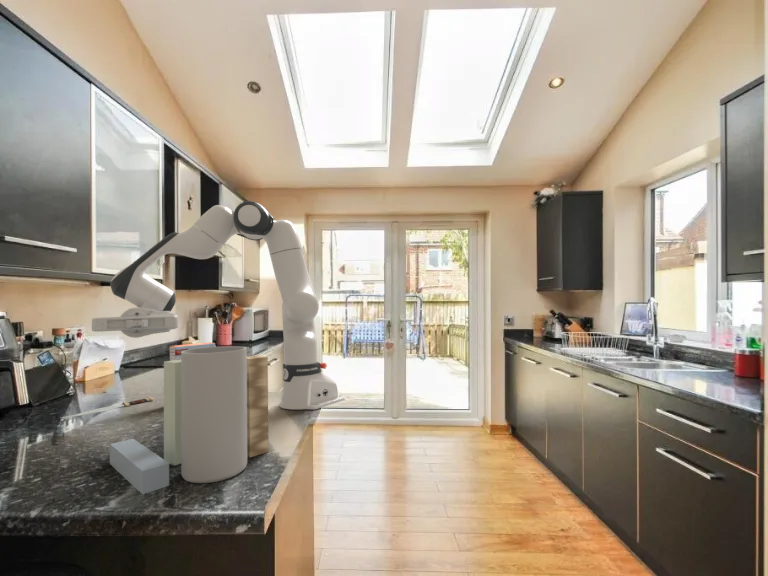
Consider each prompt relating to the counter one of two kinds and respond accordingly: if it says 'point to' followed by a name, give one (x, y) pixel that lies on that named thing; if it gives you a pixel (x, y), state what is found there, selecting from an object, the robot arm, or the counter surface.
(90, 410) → the knife
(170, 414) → the post sage
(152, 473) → the post slate
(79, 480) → the counter surface
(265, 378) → the post oak
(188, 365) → the cylinder vase
